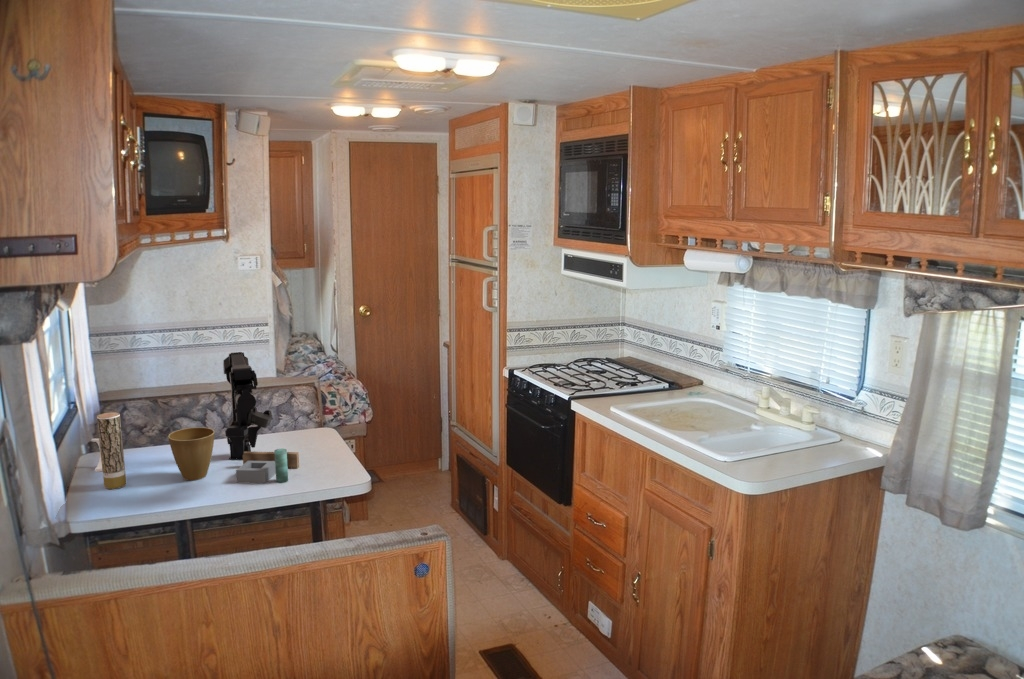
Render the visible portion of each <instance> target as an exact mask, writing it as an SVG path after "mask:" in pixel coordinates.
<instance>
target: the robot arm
mask: <svg viewBox="0 0 1024 679" xmlns="http://www.w3.org/2000/svg"><path fill="white" fill-rule="evenodd" d="M222 361H223V362H222V368H223V374H224V375H225V376H226V378H225V379H226V381H227V382H228V383H229V384H230V397H231V414H232V415H231V418H230V419H229V420H228V423H227V425H228V427H226V429H225V430H224V432H225V435H224V436H225V437H226V442H227V445H229V453H230V456H229V457H228V460H240V461H241V460H242V461H243V455H244V452H245V451H247V452H252V448H253V449H254V448H256V444H257V439H258V434H259V431H261V429H262V428H263V429H266V428H268V427H270V425H271V423H272V420H274V418H273V414H272V410H270V409H266V410H264V411H258V408H257V406H256V404H257V399H256V397H255V395H254V394H253V390H256V389H257V387H258V385H259V384H258V377H257V373H256V371H255V370H254V369H253V368H252V366H251V365H249V359H248V357H247V356H245V352H243V351H237V352H229V353H228V356H227V357H226V358H225V359H223V360H222Z"/></svg>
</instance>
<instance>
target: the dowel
mask: <svg viewBox="0 0 1024 679" xmlns="http://www.w3.org/2000/svg"><path fill="white" fill-rule="evenodd" d="M273 452H274V453H275V469H276V474H275V482H276V483H278V484H285V483H288V482H289V471H288V466H287V452H288V451H287V448H277V449H274V450H273Z"/></svg>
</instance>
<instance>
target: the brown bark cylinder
mask: <svg viewBox="0 0 1024 679" xmlns="http://www.w3.org/2000/svg"><path fill="white" fill-rule="evenodd" d="M120 414H121V413H120V412H115V411H114V412H105V413H100V414H98V415H96V419H97V420H96V422H97V433H98V439H99V442H100V449H99V453H100V452H101V461H102V471H101V472H102V478H103V486H104V488H105V489H107V490H116V489H120V488H123V487H125V486H126V484H127V476H126V464H125V453H124V445H123V443H124V442H123V435H122V434H123V433H122V424H121V423H122V422H121V415H120Z"/></svg>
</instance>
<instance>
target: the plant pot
mask: <svg viewBox="0 0 1024 679" xmlns="http://www.w3.org/2000/svg"><path fill="white" fill-rule="evenodd" d="M167 436H168V442H169V446H170V449H171V452H172V456H173V458H174V460H175V463H176V465H177V469H178V470H179V472H180V474H181V476H182V478H183V480H185V481H189V482H190V481H200V480H202V479H204V478H206V477H207V475H208V471H209V468H210V465H211V459H212V457H213V456H212V455H213V450H214V442H215V429H213V428H209V427H203V426H202V427H201V426H200V427H199V426H198V427H196V426H195V427H187V428H181V429H178V430H175V431H172V432H171V433H169V435H167Z"/></svg>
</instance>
